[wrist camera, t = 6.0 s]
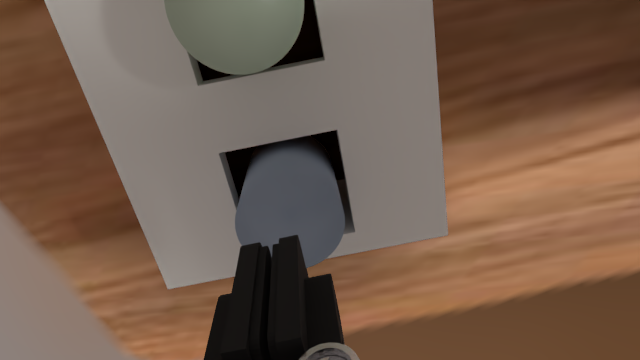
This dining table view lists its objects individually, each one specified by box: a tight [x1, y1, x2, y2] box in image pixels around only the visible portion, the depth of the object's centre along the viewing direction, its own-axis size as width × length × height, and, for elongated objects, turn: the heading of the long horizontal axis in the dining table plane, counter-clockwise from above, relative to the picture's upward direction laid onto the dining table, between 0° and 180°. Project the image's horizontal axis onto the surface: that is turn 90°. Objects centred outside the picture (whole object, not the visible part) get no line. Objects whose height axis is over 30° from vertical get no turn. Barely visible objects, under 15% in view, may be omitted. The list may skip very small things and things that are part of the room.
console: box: [44, 0, 448, 289], centre depth 17 cm, size 13×22×6 cm, turn 10°
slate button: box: [235, 135, 345, 268], centre depth 17 cm, size 4×4×5 cm
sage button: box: [164, 0, 304, 75], centre depth 14 cm, size 4×4×5 cm
